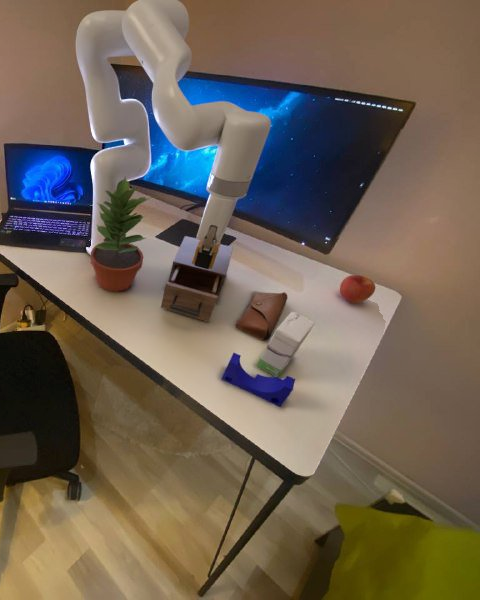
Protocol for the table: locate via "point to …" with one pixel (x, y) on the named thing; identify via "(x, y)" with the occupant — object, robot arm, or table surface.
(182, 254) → the cabinet
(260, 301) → the sunglasses case
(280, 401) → the blue cradle holder
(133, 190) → the potted plant
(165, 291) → the drawer
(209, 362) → the table surface
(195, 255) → the block
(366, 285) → the apple
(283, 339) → the ink box
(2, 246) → the table surface
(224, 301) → the table surface
